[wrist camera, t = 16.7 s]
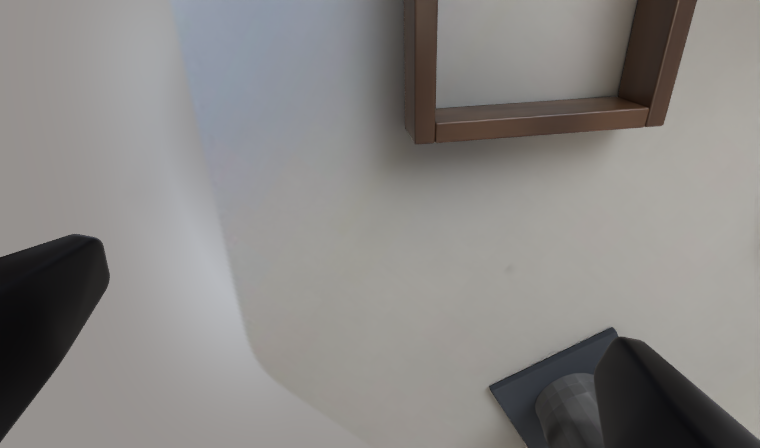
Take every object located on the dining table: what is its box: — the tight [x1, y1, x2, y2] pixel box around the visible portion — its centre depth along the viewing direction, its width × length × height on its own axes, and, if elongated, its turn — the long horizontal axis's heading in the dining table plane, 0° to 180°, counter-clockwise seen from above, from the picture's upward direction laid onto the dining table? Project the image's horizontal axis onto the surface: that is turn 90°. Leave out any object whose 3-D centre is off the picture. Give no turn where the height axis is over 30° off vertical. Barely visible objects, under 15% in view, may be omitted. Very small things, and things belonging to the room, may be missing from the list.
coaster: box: [490, 327, 618, 448], centre depth 28 cm, size 8×8×1 cm
